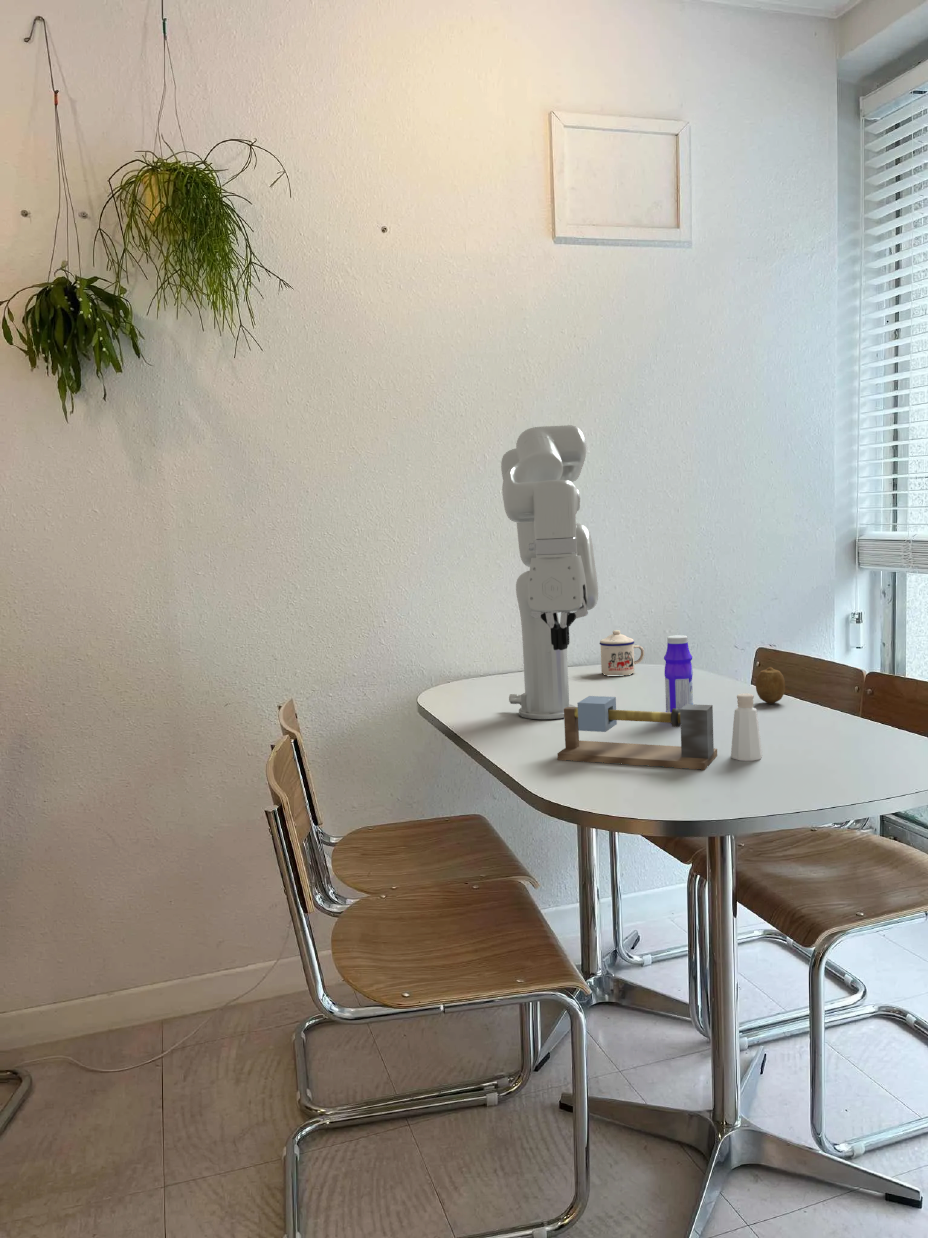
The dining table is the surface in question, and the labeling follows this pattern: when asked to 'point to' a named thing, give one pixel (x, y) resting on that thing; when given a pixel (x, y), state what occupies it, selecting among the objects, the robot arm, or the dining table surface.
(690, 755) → the rod stand
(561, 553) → the robot arm
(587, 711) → the sleeve
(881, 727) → the dining table surface
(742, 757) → the pepper shaker
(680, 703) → the bottle
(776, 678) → the fruit
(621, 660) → the teacup with lid
